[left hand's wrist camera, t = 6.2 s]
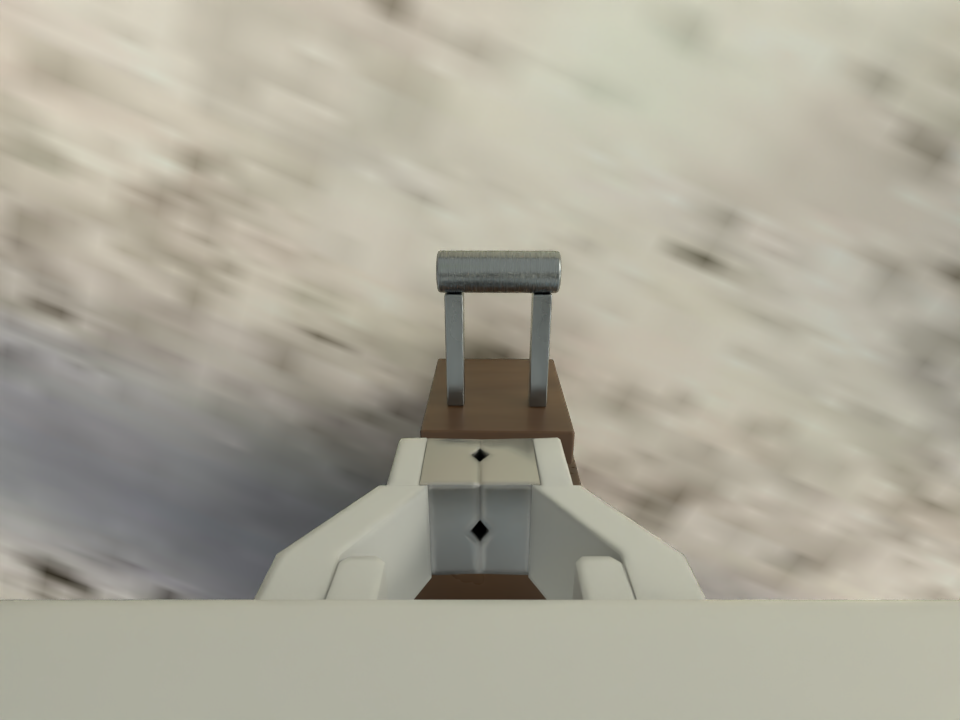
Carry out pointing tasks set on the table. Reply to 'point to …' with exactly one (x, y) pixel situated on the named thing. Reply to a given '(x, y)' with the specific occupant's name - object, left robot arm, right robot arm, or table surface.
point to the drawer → (498, 382)
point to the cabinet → (485, 580)
